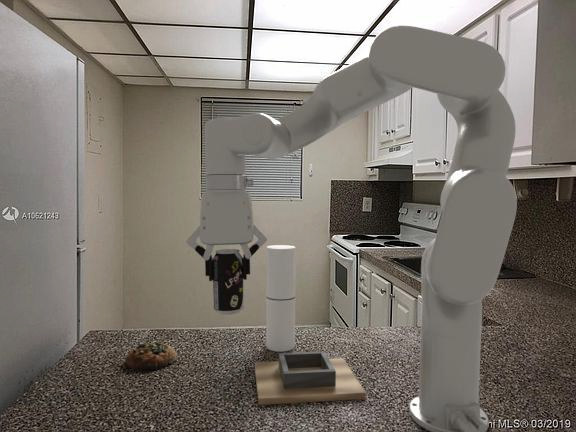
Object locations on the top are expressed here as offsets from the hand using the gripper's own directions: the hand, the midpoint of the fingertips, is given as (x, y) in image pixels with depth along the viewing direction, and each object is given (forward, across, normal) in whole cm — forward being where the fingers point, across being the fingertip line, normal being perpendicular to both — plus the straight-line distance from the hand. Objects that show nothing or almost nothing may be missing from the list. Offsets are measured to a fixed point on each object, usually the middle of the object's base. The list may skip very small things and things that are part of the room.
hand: (228, 278), depth 79 cm
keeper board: (+22, -15, -1) cm, 27 cm away
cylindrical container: (+22, -12, -21) cm, 33 cm away
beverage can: (+7, 0, 0) cm, 7 cm away
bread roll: (+22, +18, -16) cm, 32 cm away
